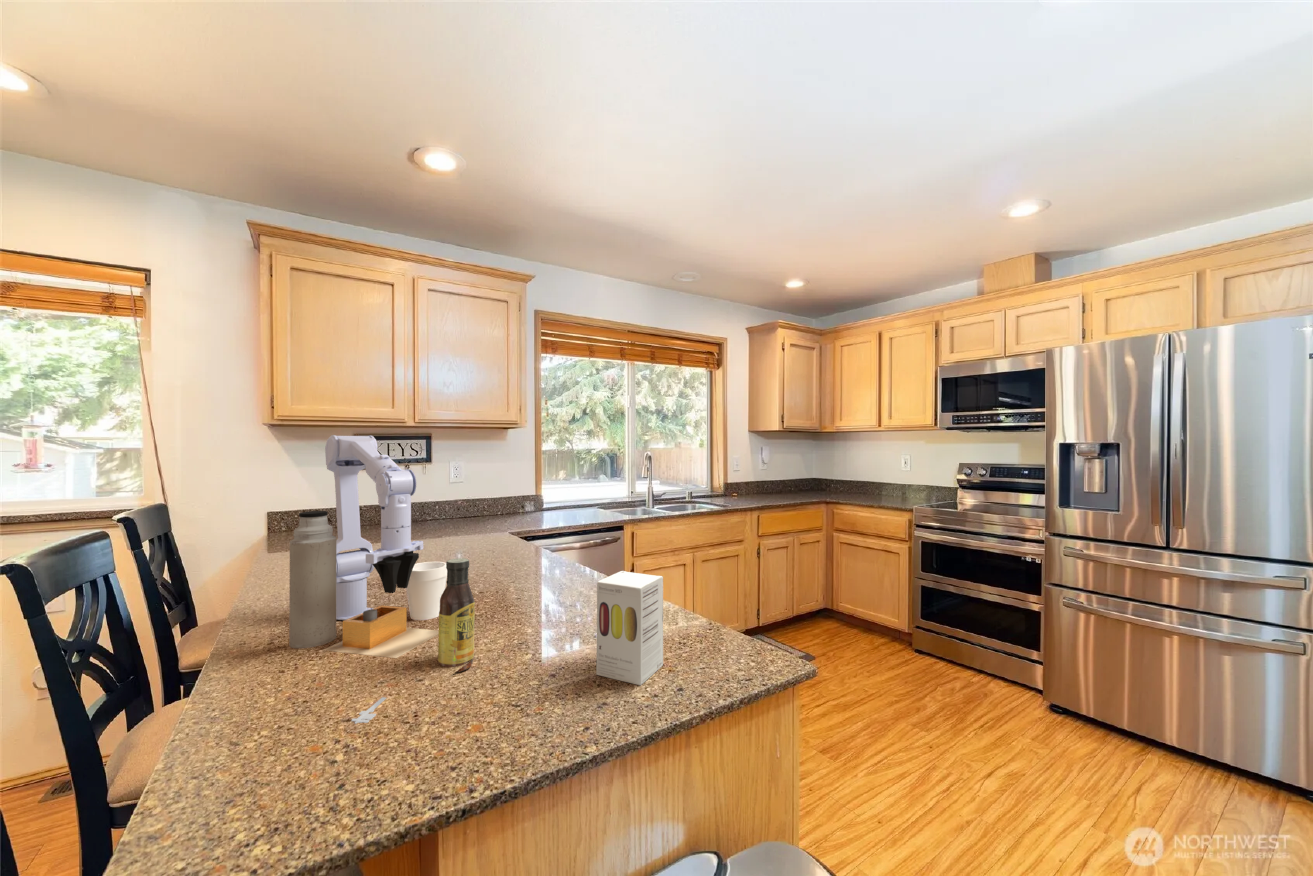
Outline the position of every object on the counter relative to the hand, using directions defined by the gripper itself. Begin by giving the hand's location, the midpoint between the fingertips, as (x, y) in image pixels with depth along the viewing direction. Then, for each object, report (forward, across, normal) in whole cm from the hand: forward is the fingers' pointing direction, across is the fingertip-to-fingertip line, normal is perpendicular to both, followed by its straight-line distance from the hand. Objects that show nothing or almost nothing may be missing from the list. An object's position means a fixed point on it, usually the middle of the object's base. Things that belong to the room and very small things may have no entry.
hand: (396, 590), depth 107 cm
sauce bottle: (+11, -9, -21) cm, 25 cm away
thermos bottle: (+11, -8, +14) cm, 19 cm away
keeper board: (+10, -4, -1) cm, 11 cm away
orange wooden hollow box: (+9, -4, +2) cm, 10 cm away
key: (+11, -23, -17) cm, 31 cm away
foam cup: (+11, +11, +1) cm, 15 cm away
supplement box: (+11, -3, -53) cm, 54 cm away
